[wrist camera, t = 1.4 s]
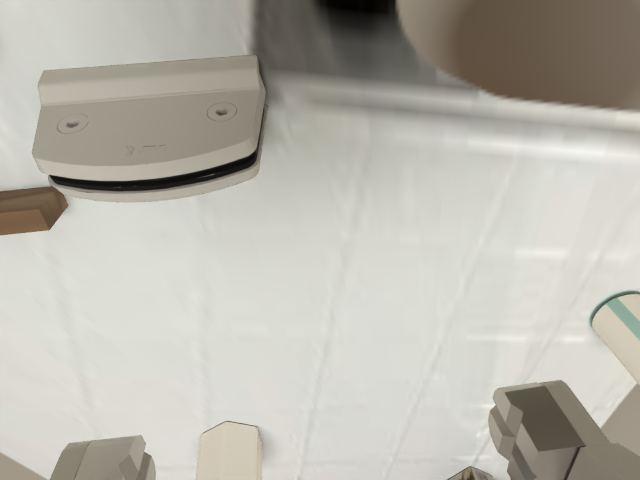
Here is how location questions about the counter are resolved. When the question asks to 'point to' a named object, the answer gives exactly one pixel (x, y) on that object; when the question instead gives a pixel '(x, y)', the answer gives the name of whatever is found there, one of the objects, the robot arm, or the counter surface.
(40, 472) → the counter surface
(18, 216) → the frame
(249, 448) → the jar
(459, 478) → the coffee box
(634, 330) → the can
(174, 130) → the white curved block
